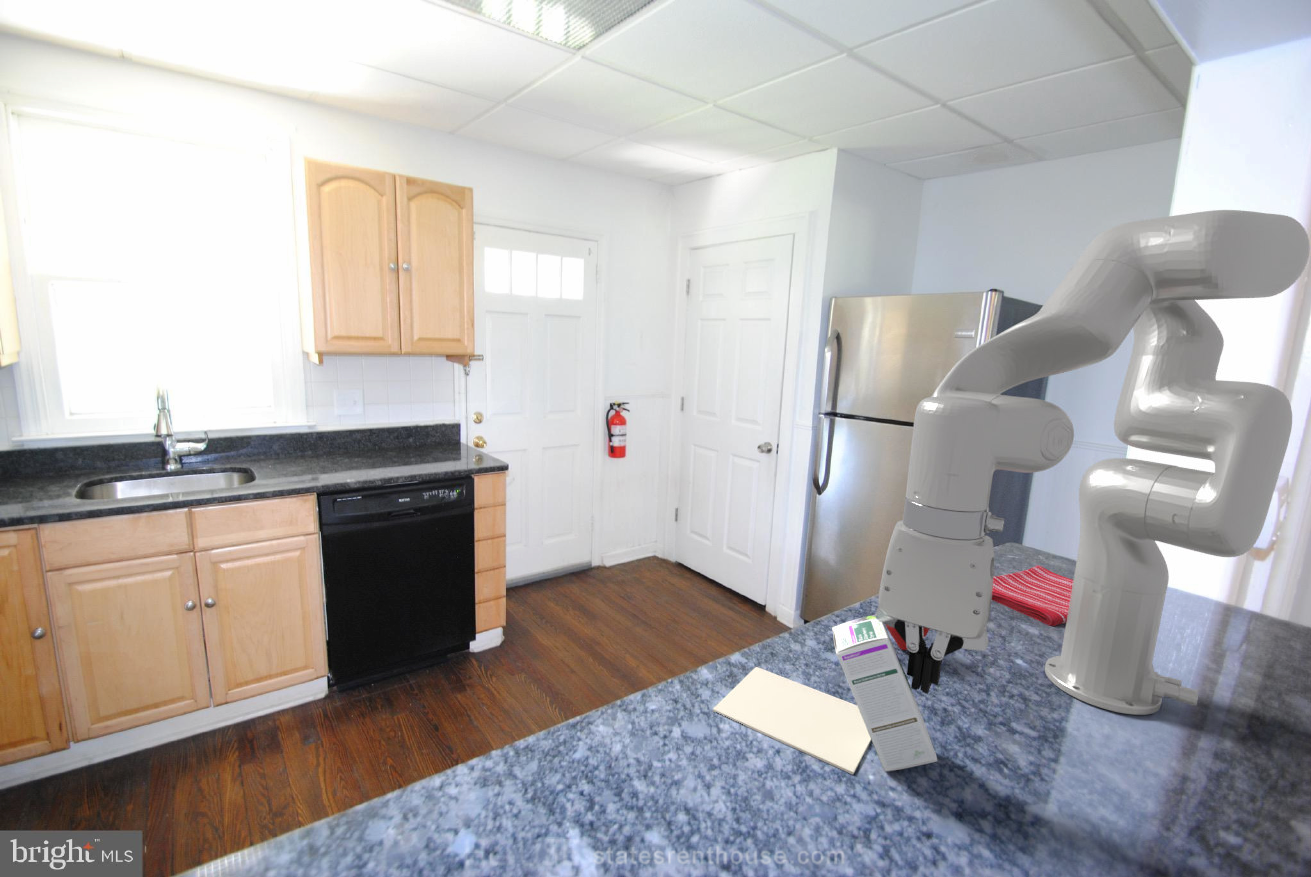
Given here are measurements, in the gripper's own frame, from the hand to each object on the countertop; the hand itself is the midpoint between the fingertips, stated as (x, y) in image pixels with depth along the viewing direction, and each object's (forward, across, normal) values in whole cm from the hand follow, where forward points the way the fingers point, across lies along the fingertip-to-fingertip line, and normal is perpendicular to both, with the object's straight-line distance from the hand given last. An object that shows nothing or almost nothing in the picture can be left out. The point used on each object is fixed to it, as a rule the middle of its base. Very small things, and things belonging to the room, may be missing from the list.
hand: (921, 685), depth 61 cm
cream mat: (+9, +13, 0) cm, 16 cm away
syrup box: (+8, +1, 0) cm, 8 cm away
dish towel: (+10, -11, -64) cm, 65 cm away
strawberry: (+9, +6, -25) cm, 28 cm away
